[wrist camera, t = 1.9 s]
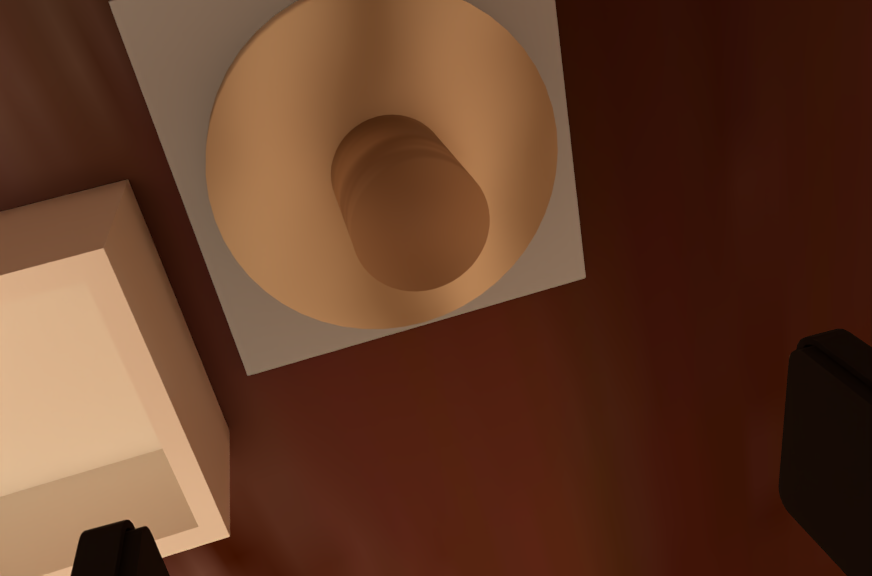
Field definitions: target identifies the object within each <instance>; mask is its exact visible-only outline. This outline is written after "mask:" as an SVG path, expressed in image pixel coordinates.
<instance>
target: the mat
mask: <svg viewBox="0 0 872 576" xmlns="http://www.w3.org/2000/svg"><path fill="white" fill-rule="evenodd" d="M296 1H298V0H110V1H109V4H110V7H111V10H112V13H113V15H114V18H115V21H116V23H117V26H118V29H119V31H120V34H121V37H122V39H123V42H124V45H125V47H126V50H127V53H128V56H129V58H130V61H131V64H132V66H133V69H134V72H135V74H136V77H137V80H138V82H139V85H140V88H141V90H142V93H143V96H144V98H145V101H146V104H147V107H148V109H149V112H150V115H151V117H152V120H153V123H154V125H155V128H156V131H157V133H158V136H159V139H160V141H161V144H162V147H163V150H164V152H165V155H166V158H167V160H168V163H169V166H170V168H171V171H172V174H173V176H174V179H175V182H176V184H177V187H178V190H179V193H180V195H181V198H182V201H183V203H184V206H185V209H186V211H187V214H188V217H189V219H190V222H191V225H192V227H193V230H194V233H195V236H196V238H197V241H198V244H199V246H200V249H201V252H202V254H203V257H204V260H205V262H206V265H207V268H208V270H209V273H210V276H211V279H212V281H213V284H214V287H215V289H216V292H217V295H218V297H219V300H220V303H221V305H222V308H223V311H224V313H225V316H226V319H227V322H228V324H229V327H230V330H231V332H232V335H233V338H234V340H235V343H236V346H237V348H238V351H239V354H240V356H241V359H242V362H243V364H244V367H245V370H246V373H247V375H248V376H249V375H253V374H256V373H260V372H263V371H267V370H270V369H274V368H277V367H280V366H284V365H287V364H291V363H294V362H298V361H301V360H305V359H308V358H311V357H315V356H318V355H322V354H325V353H329V352H332V351H336V350H339V349H342V348H346V347H349V346H353V345H356V344H360V343H363V342H367V341H370V340H373V339H377V338H380V337H384V336H387V335H391V334H394V333H398V332H401V331H405V330H408V329H411V328H415V327H418V326H422V325H425V324H429V323H432V322H436V321H439V320H442V319H446V318H449V317H453V316H456V315H460V314H463V313H467V312H470V311H473V310H477V309H480V308H484V307H487V306H491V305H494V304H498V303H501V302H504V301H508V300H511V299H515V298H518V297H522V296H525V295H529V294H532V293H535V292H539V291H542V290H546V289H549V288H553V287H556V286H560V285H563V284H566V283H570V282H573V281H577V280H580V279H584V278H586V276H585V267H584V258H583V249H582V240H581V231H580V221H579V212H578V203H577V194H576V185H575V176H574V167H573V158H572V149H571V140H570V131H569V122H568V113H567V104H566V95H565V86H564V77H563V68H562V59H561V50H560V41H559V32H558V23H557V14H556V5H555V0H463V1H466V2H468V3H470V4H472V5H473V6H475V7H476V8H478V9H480V10H481V11H483V12H485V13H486V14H488V15H489V16H491V17H492V18H493V19H494V20H496V21H497V22H498V23H499V24H500V25H502V26H503V27H504V28H505V29H506V30H508V32H509V33H510V34H511V35H512V36H513V37H514V38H515V39H516V40H517V41H518V43H519V44H520V45H521V46H522V47H523V48H524V50H525V51H526V53H527V54H528V56H529V57H530V59H531V60H532V62H533V63H534V65H535V66H536V68H537V70H538V72H539V74H540V76H541V78H542V80H543V82H544V84H545V86H546V89H547V92H548V95H549V98H550V101H551V104H552V107H553V112H554V118H555V123H556V129H557V146H558V155H557V168H556V176H555V181H554V186H553V191H552V195H551V198H550V201H549V204H548V207H547V210H546V213H545V215H544V217H543V219H542V221H541V224H540V226H539V228H538V230H537V232H536V234H535V235H534V237H533V239H532V240H531V242H530V243H529V245H528V247H527V248H526V250H525V251H524V252H523V254H522V255H521V256H520V258H519V259H518V260H517V261H516V263H515V264H514V265H513V266H512V267H511V268H510V269H509V270H508V271H507V272H506V273H505V274H504V275H503V276H502V277H501V278H500V279H499V280H498V281H497V282H496V283H495V284H494V285H493V286H491V287H490V288H489V289H488V290H486V291H485V292H484V293H483V294H481V295H480V296H478V297H477V298H475V299H473V300H472V301H470V302H469V303H467V304H466V305H464V306H462V307H460V308H458V309H456V310H454V311H452V312H450V313H448V314H446V315H443V316H440V317H438V318H435V319H432V320H429V321H426V322H423V323H418V324H414V325H410V326H405V327H398V328H389V329H358V328H350V327H342V326H338V325H334V324H330V323H326V322H322V321H319V320H316V319H314V318H311V317H308V316H306V315H303V314H301V313H299V312H297V311H295V310H293V309H291V308H290V307H288V306H286V305H284V304H282V303H281V302H279V301H278V300H277V299H275V298H274V297H272V296H271V295H270V294H268V293H267V292H265V291H264V290H263V289H262V288H261V287H260V286H259V285H258V284H257V283H256V282H255V281H254V280H253V279H251V278H250V277H249V275H248V274H247V273H246V272H245V271H244V269H243V268H242V267H241V266H240V265H239V263H238V262H237V261H236V260H235V258H234V256H233V255H232V253H231V251H230V250H229V248H228V247H227V245H226V243H225V242H224V240H223V238H222V235H221V233H220V231H219V228H218V226H217V224H216V222H215V219H214V215H213V212H212V208H211V204H210V201H209V197H208V189H207V182H206V143H207V134H208V127H209V121H210V115H211V111H212V108H213V105H214V101H215V98H216V94H217V92H218V89H219V87H220V85H221V83H222V81H223V79H224V76H225V74H226V72H227V70H228V68H229V67H230V65H231V64H232V62H233V61H234V59H235V58H236V56H237V54H238V53H239V51H240V50H241V49H242V48H243V46H244V45H245V44H246V43H247V42H248V41H249V39H250V38H251V37H252V36H253V35H254V34H255V32H256V31H257V30H259V29H260V28H261V27H262V26H263V25H264V24H265V23H267V22H268V21H269V20H270V19H271V18H272V17H273V16H275V15H276V14H277V13H279V12H281V11H282V10H284V9H285V8H287V7H288V6H290V5H291V4H293V3H294V2H296Z"/></svg>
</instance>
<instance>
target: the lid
mask: <svg viewBox="0 0 872 576" xmlns="http://www.w3.org/2000/svg"><path fill="white" fill-rule="evenodd" d="M557 155H558V146H557V129H556V123H555V118H554V112H553V107H552V104H551V101H550V98H549V95H548V92H547V89H546V86H545V84H544V82H543V80H542V78H541V76H540V74H539V72H538V70H537V68H536V66H535V65H534V63H533V62H532V60H531V59H530V57H529V56H528V54H527V53H526V51H525V50H524V48H523V47H522V46H521V45H520V44H519V43H518V41H517V40H516V39H515V38H514V37H513V36H512V35H511V34H510V33H509V32H508V30H506V29H505V28H504V27H503V26H502V25H500V24H499V23H498V22H497V21H496V20H494V19H493V18H492V17H491V16H489V15H488V14H486V13H485V12H483V11H481V10H480V9H478V8H476V7H475V6H473V5H472V4H470V3H468V2H466V1H463V0H298V1H296V2H294V3H293V4H291V5H290V6H288V7H287V8H285V9H284V10H282V11H281V12H279V13H277V14H276V15H275V16H273V17H272V18H271V19H270V20H269V21H268V22H267V23H265V24H264V25H263V26H262V27H261V28H260V29H259V30H257V31H256V32H255V34H254V35H253V36H252V37H251V38H250V39H249V41H248V42H247V43H246V44H245V45H244V46H243V48H242V49H241V50H240V51H239V53H238V54H237V56H236V58H235V59H234V61H233V62H232V64H231V65H230V67H229V68H228V70H227V72H226V74H225V76H224V79H223V81H222V83H221V85H220V87H219V89H218V92H217V94H216V98H215V101H214V105H213V108H212V111H211V115H210V121H209V127H208V134H207V143H206V182H207V189H208V197H209V201H210V204H211V208H212V212H213V215H214V219H215V222H216V224H217V226H218V228H219V231H220V233H221V235H222V238H223V240H224V242H225V243H226V245H227V247H228V248H229V250H230V251H231V253H232V255H233V256H234V258H235V260H236V261H237V262H238V263H239V265H240V266H241V267H242V268H243V269H244V271H245V272H246V273H247V274H248V275H249V277H250V278H251V279H253V280H254V281H255V282H256V283H257V284H258V285H259V286H260V287H261V288H262V289H263V290H264V291H265V292H267V293H268V294H270V295H271V296H272V297H274V298H275V299H277V300H278V301H279V302H281V303H282V304H284V305H286V306H288V307H290V308H291V309H293V310H295V311H297V312H299V313H301V314H303V315H306V316H308V317H311V318H314V319H316V320H319V321H322V322H326V323H330V324H334V325H338V326H342V327H350V328H358V329H389V328H398V327H405V326H410V325H414V324H418V323H423V322H426V321H429V320H432V319H435V318H438V317H440V316H443V315H446V314H448V313H450V312H452V311H454V310H456V309H458V308H460V307H462V306H464V305H466V304H467V303H469V302H470V301H472V300H473V299H475V298H477V297H478V296H480V295H481V294H483V293H484V292H485V291H486V290H488V289H489V288H490V287H491V286H493V285H494V284H495V283H496V282H497V281H498V280H499V279H500V278H501V277H502V276H503V275H504V274H505V273H506V272H507V271H508V270H509V269H510V268H511V267H512V266H513V265H514V264H515V263H516V261H517V260H518V259H519V258H520V256H521V255H522V254H523V252H524V251H525V250H526V248H527V247H528V245H529V243H530V242H531V240H532V239H533V237H534V235H535V234H536V232H537V230H538V228H539V226H540V224H541V221H542V219H543V217H544V215H545V213H546V210H547V207H548V204H549V201H550V198H551V195H552V191H553V186H554V181H555V176H556V168H557Z"/></svg>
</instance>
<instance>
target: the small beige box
mask: <svg viewBox="0 0 872 576" xmlns="http://www.w3.org/2000/svg"><path fill="white" fill-rule="evenodd" d="M122 520H130V521H131V522H132V523H133V525H134V527H135V529H136V528H140V527H143V526H147V527H148V528H149V529H150V531H151V533H152V535H153V538H154V540H155V542H156V545H157V547H158V549H159V552H160V554H161V557H162V558H163V557H166V556H169V555H172V554H176V553H179V552H182V551H185V550H188V549H192V548H195V547H198V546H201V545H204V544H207V543H211V542H214V541H217V540H220V539H223V538H227V537H230V431H229V429H228V426H227V424H226V421H225V419H224V416H223V414H222V411H221V409H220V406H219V404H218V401H217V399H216V396H215V394H214V391H213V389H212V386H211V384H210V381H209V379H208V376H207V374H206V371H205V369H204V366H203V364H202V361H201V359H200V356H199V354H198V351H197V349H196V347H195V344H194V342H193V339H192V337H191V334H190V332H189V329H188V327H187V324H186V322H185V319H184V317H183V314H182V312H181V309H180V307H179V304H178V302H177V299H176V297H175V294H174V292H173V289H172V287H171V284H170V282H169V279H168V277H167V274H166V272H165V269H164V267H163V265H162V262H161V260H160V257H159V255H158V252H157V250H156V247H155V245H154V242H153V240H152V237H151V235H150V232H149V230H148V227H147V225H146V222H145V220H144V217H143V215H142V212H141V210H140V207H139V205H138V202H137V200H136V197H135V195H134V192H133V190H132V188H131V185H130V183H129V180H128V179H126V180H122V181H119V182H115V183H111V184H107V185H103V186H99V187H95V188H91V189H87V190H83V191H79V192H75V193H72V194H68V195H64V196H60V197H56V198H52V199H48V200H44V201H40V202H36V203H32V204H29V205H25V206H21V207H17V208H13V209H9V210H5V211H1V212H0V576H71V572H72V567H73V563H74V559H75V554H76V550H77V546H78V541H79V538H80V535H81V533H82V532H83V531H85V530H89V529H93V528H96V527H100V526H104V525H107V524H111V523H115V522H119V521H122Z"/></svg>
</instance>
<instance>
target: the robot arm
mask: <svg viewBox="0 0 872 576" xmlns="http://www.w3.org/2000/svg"><path fill="white" fill-rule="evenodd" d="M779 494H780V498H781V500H782V503H783V505H784V506H785V508H786V510H787V511H788V512H789V513H790V515H791V516H792V517H793V518H794V519H795V520H796V521H797V522H798V523H799V524H800V525H801V526H802V527H803V529H804V530H805V531H806V532H807V533H808V534H809V535H810V536H811V537H812V538H813V539H814V540H815V541H816V543H817V544H818V545H819V546H820V547H821V548H822V549H823V550H824V551H825V552H826V553H827V554H828V556H829V557H830V558H831V559H832V560H833V561H834V562H835V563H836V564H837V565H838V566H839V567H840V568H841V570H842V571H843V572H844V573H845V574H846V575H847V576H872V347H870V346H869V345H867V344H866V343H865V342H863V341H862V340H860V339H859V338H857V337H856V336H854V335H853V334H851V333H850V332H848V331H846V330H844V329H834V330H831V331H827V332H823V333H819V334H816V335H812V336H808V337H805V338H803V339H801V340H800V342H799V343H798V345H797V349H796V350H795V351H793V352H792V353H791V355H790V358H789V366H788V378H787V390H786V403H785V415H784V427H783V440H782V452H781V464H780V477H779ZM71 576H169V573H168V571H167V568H166V566H165V564H164V561H163V559H162V557H161V554H160V552H159V549H158V547H157V545H156V542H155V540H154V538H153V535H152V533H151V531H150V529H149V528H148V527H147V526H143V527H140V528H136V529H135V527H134V525H133V523H132V522H131V521H130V520H122V521H119V522H115V523H111V524H107V525H104V526H100V527H96V528H93V529H89V530H85V531H83V532H82V533H81V535H80V538H79V541H78V546H77V550H76V554H75V559H74V563H73V567H72V572H71Z"/></svg>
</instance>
